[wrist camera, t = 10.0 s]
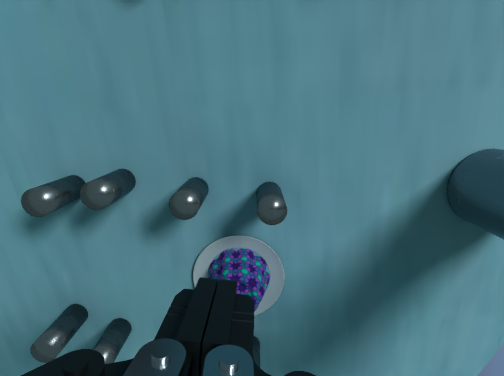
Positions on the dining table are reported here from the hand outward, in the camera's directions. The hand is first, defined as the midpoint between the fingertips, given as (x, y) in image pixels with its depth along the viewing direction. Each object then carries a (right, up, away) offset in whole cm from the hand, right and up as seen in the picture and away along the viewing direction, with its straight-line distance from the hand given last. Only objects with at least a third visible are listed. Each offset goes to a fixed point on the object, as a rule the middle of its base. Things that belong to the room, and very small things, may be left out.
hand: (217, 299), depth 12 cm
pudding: (0, -7, +30) cm, 30 cm away
